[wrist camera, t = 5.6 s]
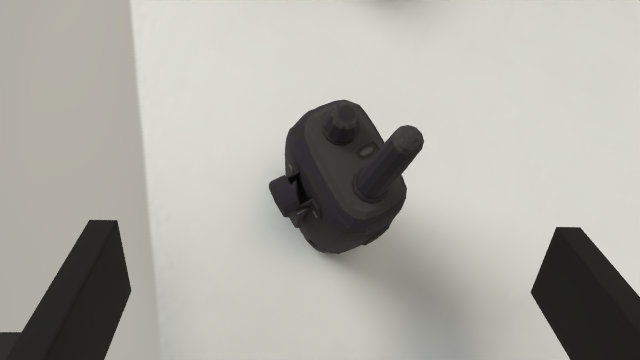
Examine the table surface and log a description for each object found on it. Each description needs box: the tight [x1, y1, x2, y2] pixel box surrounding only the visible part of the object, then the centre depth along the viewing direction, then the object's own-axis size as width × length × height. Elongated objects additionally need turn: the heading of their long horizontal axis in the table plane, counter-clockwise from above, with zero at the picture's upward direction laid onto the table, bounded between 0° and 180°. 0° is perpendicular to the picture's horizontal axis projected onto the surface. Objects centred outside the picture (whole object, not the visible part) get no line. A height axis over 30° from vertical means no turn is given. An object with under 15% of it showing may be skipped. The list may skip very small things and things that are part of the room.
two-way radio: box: [269, 100, 424, 254], centre depth 18 cm, size 6×4×15 cm
